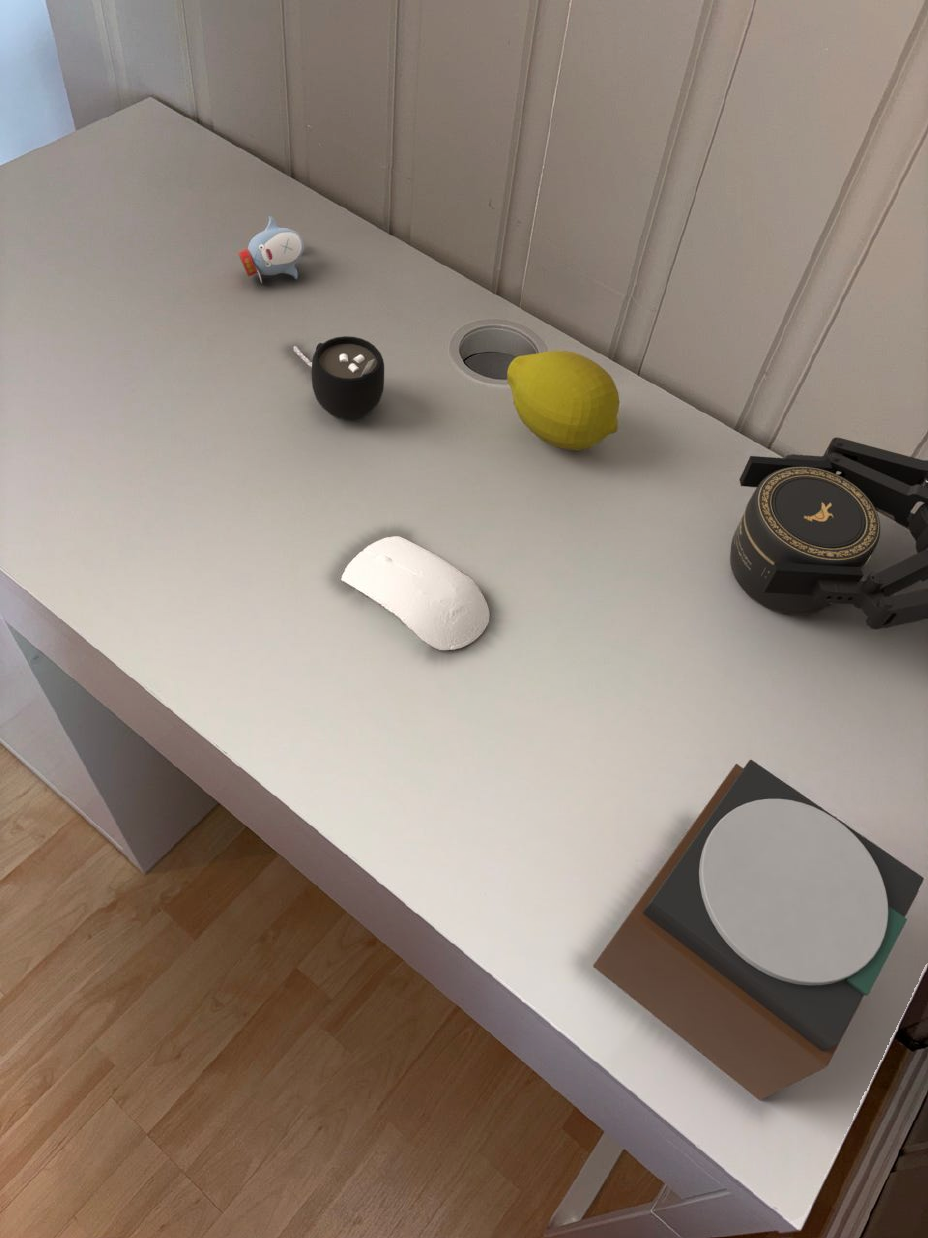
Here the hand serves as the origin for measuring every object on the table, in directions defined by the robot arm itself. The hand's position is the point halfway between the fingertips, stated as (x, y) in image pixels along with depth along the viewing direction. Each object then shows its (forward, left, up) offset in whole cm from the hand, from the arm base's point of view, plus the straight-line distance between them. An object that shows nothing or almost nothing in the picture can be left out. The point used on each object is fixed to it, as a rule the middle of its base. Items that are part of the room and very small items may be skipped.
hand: (756, 522), depth 75 cm
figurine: (+49, +22, -7) cm, 54 cm away
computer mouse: (+7, +25, -7) cm, 27 cm away
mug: (+31, +23, -7) cm, 39 cm away
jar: (-2, -4, -6) cm, 8 cm away
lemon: (+19, +6, -7) cm, 21 cm away
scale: (-26, +18, -6) cm, 32 cm away
